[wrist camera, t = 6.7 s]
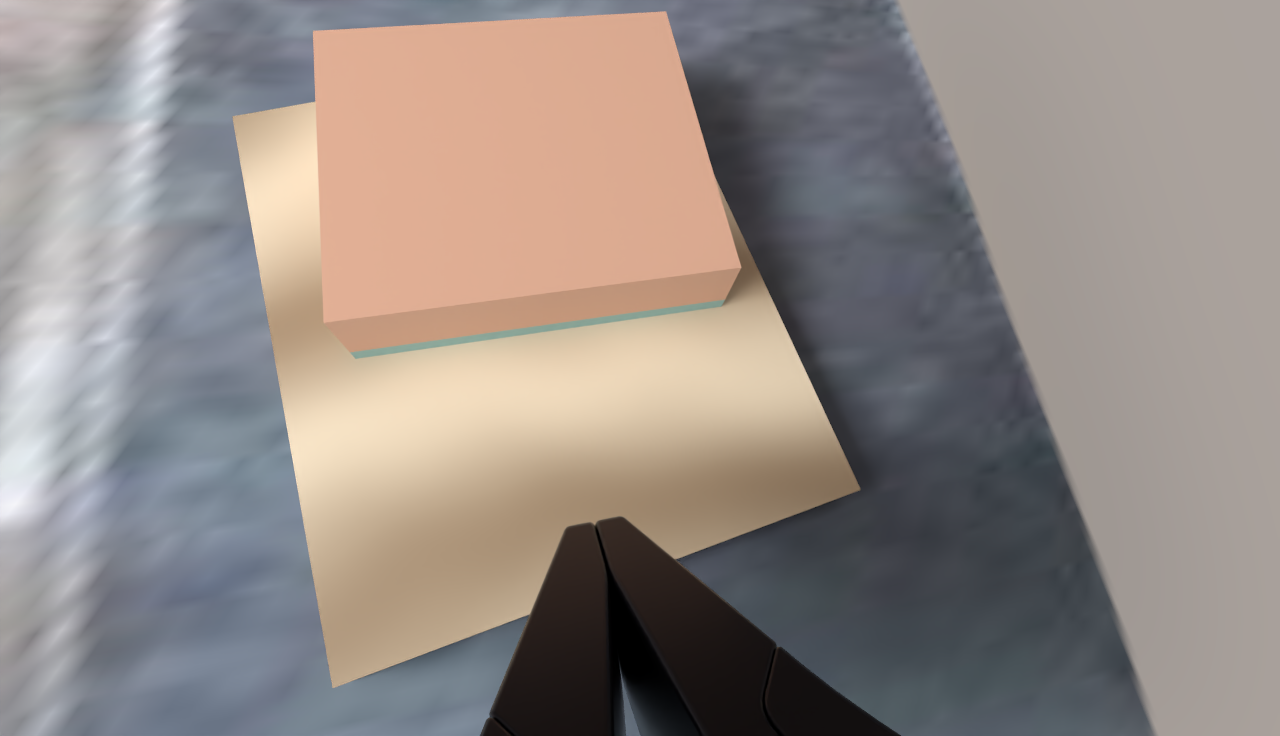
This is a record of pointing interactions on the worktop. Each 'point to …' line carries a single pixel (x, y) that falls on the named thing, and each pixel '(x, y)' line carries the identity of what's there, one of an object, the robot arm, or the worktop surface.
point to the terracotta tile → (511, 181)
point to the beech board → (513, 434)
